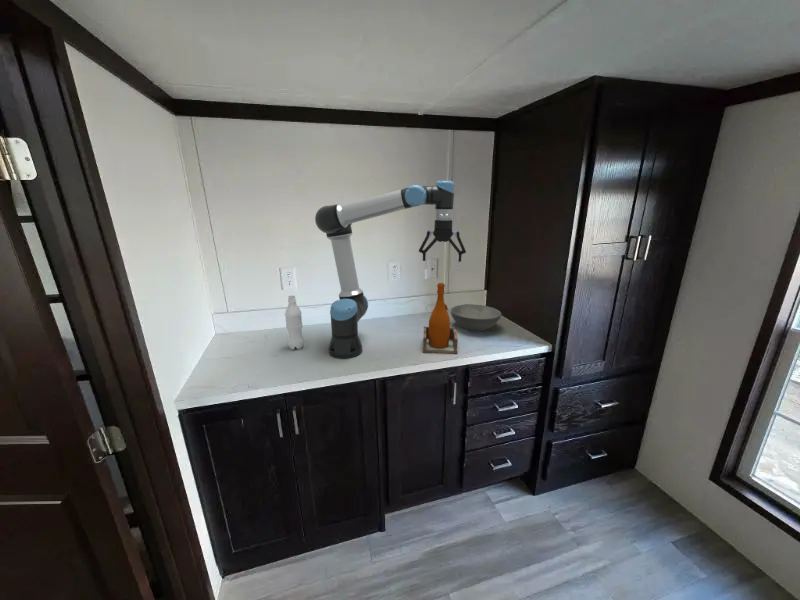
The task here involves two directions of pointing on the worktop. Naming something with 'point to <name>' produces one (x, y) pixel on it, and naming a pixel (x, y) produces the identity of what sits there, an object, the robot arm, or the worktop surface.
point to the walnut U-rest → (446, 350)
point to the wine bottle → (439, 321)
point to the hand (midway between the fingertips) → (441, 268)
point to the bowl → (475, 316)
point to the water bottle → (294, 324)
